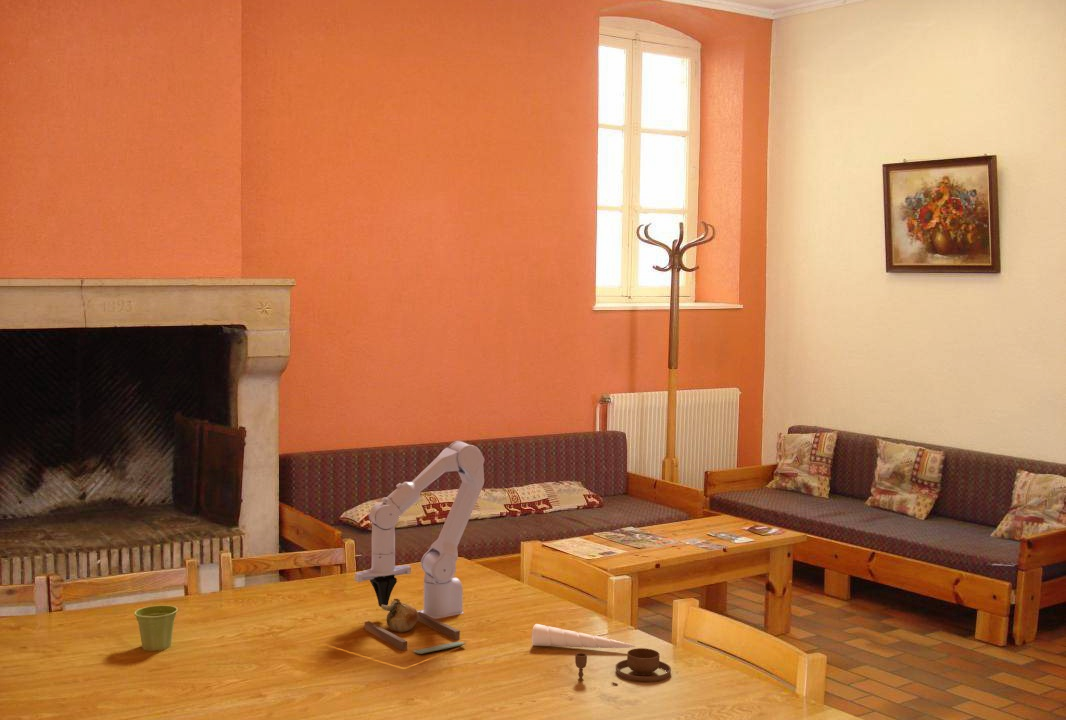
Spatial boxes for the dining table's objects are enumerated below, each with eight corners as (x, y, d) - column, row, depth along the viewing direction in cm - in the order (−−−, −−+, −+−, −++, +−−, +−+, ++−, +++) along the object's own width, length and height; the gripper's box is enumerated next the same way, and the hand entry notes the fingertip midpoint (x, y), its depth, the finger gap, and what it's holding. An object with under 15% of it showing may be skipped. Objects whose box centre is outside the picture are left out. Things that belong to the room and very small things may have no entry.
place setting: (668, 691, 226) (669, 663, 226) (572, 684, 230) (573, 657, 229) (672, 664, 244) (673, 638, 243) (583, 658, 247) (583, 632, 247)
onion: (402, 639, 257) (402, 605, 257) (378, 632, 262) (378, 599, 262) (424, 631, 264) (424, 598, 263) (400, 625, 268) (400, 592, 268)
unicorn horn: (633, 662, 250) (629, 668, 245) (533, 641, 256) (528, 646, 251) (636, 641, 249) (632, 647, 245) (536, 621, 255) (530, 626, 251)
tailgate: (409, 650, 248) (420, 652, 244) (454, 641, 255) (466, 642, 251) (409, 652, 248) (420, 653, 244) (455, 642, 255) (466, 644, 251)
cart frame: (419, 621, 271) (419, 611, 271) (459, 641, 256) (459, 630, 256) (364, 632, 262) (364, 622, 262) (402, 653, 247) (402, 642, 247)
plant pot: (125, 650, 247) (125, 612, 246) (157, 639, 255) (157, 602, 255) (155, 657, 243) (155, 618, 242) (187, 645, 251) (186, 608, 250)
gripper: (401, 545, 277) (401, 598, 278) (349, 552, 268) (349, 607, 269) (415, 550, 271) (414, 604, 272) (362, 558, 263) (362, 614, 264)
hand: (383, 606), depth 270 cm, fingers closed
